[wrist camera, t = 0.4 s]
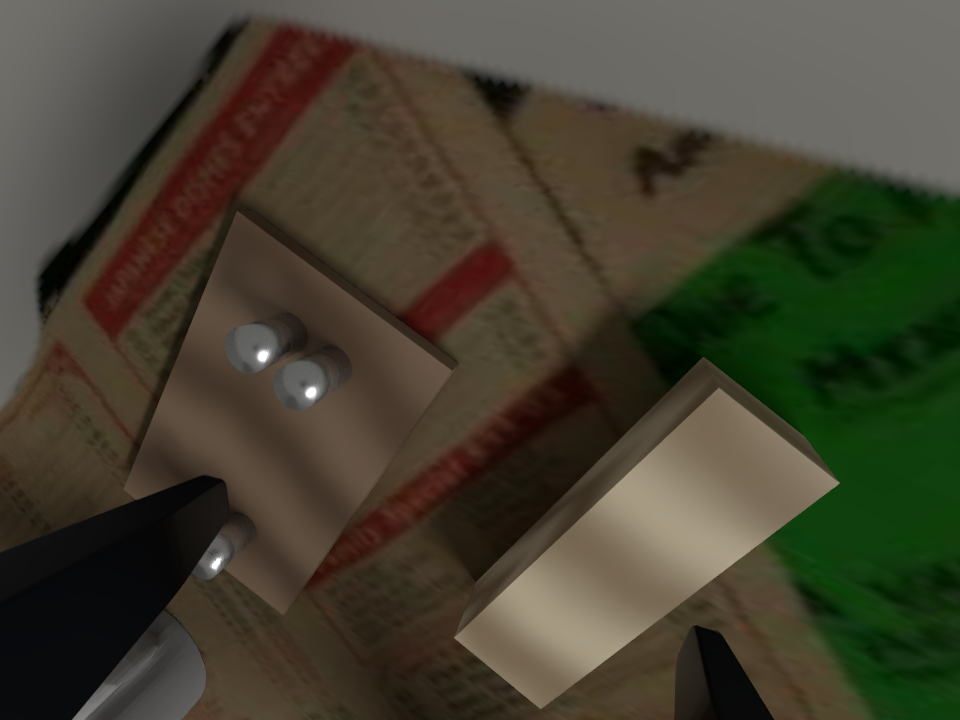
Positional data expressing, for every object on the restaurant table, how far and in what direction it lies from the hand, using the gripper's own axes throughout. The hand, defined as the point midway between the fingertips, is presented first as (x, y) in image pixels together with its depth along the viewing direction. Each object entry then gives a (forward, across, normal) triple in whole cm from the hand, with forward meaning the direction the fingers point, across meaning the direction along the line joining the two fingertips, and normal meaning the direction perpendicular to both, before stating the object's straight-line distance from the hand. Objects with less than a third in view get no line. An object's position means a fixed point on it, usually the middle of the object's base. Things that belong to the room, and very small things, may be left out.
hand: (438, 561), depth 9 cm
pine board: (+13, -5, +9) cm, 16 cm away
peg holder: (+13, +13, +9) cm, 20 cm away
